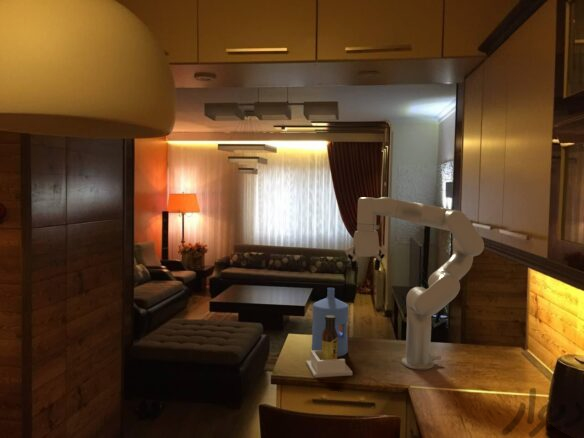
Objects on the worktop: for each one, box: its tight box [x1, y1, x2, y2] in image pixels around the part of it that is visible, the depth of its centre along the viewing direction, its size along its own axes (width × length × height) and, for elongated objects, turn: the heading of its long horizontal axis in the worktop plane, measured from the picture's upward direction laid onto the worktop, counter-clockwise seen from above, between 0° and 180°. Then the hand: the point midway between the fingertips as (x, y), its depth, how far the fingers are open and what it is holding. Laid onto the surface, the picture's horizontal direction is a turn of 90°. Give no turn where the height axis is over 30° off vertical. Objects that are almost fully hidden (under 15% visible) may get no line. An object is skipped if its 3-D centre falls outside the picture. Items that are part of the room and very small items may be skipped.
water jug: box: [311, 287, 350, 358], centre depth 199 cm, size 16×16×28 cm
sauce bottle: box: [321, 315, 338, 360], centre depth 179 cm, size 7×6×20 cm
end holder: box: [305, 349, 353, 378], centre depth 180 cm, size 15×14×6 cm
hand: (365, 270), depth 184 cm, fingers open, 9 cm apart
